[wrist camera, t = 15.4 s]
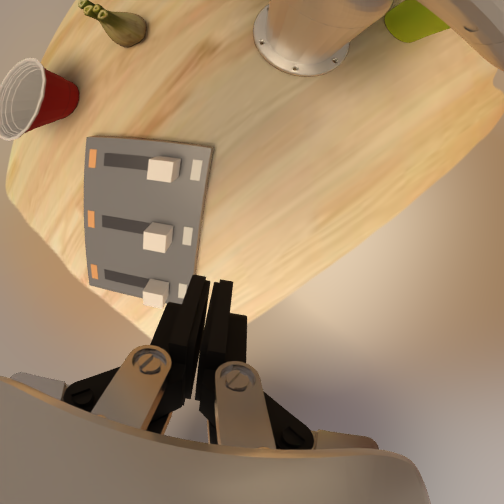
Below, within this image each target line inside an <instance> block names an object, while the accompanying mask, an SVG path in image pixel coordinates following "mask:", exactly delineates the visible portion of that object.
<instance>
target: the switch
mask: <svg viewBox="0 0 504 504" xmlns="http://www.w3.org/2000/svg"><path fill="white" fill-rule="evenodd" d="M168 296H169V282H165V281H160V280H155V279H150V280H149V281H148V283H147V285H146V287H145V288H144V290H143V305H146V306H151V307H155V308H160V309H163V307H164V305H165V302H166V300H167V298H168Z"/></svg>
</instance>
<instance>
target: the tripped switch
mask: <svg viewBox="0 0 504 504" xmlns="http://www.w3.org/2000/svg"><path fill="white" fill-rule="evenodd" d="M172 237H173V226H172V225H166V224H161V223H155V222H152V223H151V224H150V225H149V226H148V228H147V229H146V230H145V231H144V235H143V249H146V250H151V251H156V252H161V253H165V252H166V251H167V249H168V248H169V246H170V244H171V243H172Z"/></svg>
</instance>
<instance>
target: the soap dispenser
mask: <svg viewBox="0 0 504 504" xmlns="http://www.w3.org/2000/svg"><path fill="white" fill-rule="evenodd" d="M385 24H386V27H387V29H388V30H389V32H390V33H391V34H392V35H393V36H394V37H395V38H397V39H398V40H400V41H403V42H407V43H410V42H414V41H416V40H419V39H421V38H424V37H426V36H429V35H432V34H435V33H437V32H440V31H443V30H446V29H449V28H451V27H450V26H448V25H447V24H446V23H445V22H444V21H443V20H441V19H440V18H439V17H438V16H436V15H435V14H434V13H433V12H431V11H430V10H429V9H427V8H426V7H425V6H423V5H422V4H421V3H419V2H418V1H416V0H405V1H403V2H402V3H400V4H399V5H397V6H396V7H395V8H393V9H392V10H390V11H389V12H387V13H386V15H385Z"/></svg>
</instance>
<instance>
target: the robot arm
mask: <svg viewBox="0 0 504 504" xmlns="http://www.w3.org/2000/svg"><path fill="white" fill-rule="evenodd" d="M393 1H394V0H270V3H269V4H268V5H267V6H266V7H265V8H263V9H262V10H261V11H260V13H259V14H258V16H257V17H256V20H255V22H254V28H253V37H254V41H255V45H256V47H257V49H258V51H259V52H260V54H261V55H262V56H263V58H264V59H265V60H267V61H268V62H269V63H270V64H271V65H273V66H274V67H276V68H277V69H279V70H281V71H283V72H286V73H289V74H292V75H296V76H304V77H309V76H318V75H323V74H325V73H328V72H330V71H332V70H333V69H335V68H336V67H337V66H339V65H340V64H341V63H342V62H343V60H344V59H345V58H346V55H347V53H348V50H349V45H350V42H349V41H351V40H352V39H353V38H355V37H356V36H357V35H358V34H360V33H361V32H362V31H364V30H365V29H366V28H368V27H369V26H371V25H372V24H373V23H374V22H376V21H377V20H378V19H380V18H381V17H382V16H384V15H385V14H386V13H387V11H388V10H389V9H390V7H391V5H392V3H393ZM416 1H418V2H419V3H421V4H422V5H423V6H425V7H426V8H427V9H429V10H430V11H431V12H433V13H434V14H435V15H436V16H438V17H439V18H440V19H441V20H443V21H444V22H445V23H446V24H447V25H448V26H450V27H451V28H452V29H453V30H454V31H455V32H456V33H457V34H459V35H460V36H461V37H462V38H463V39H464V40H465V41H466V42H467V43H468V44H469V45H470V46H471V47H472V48H473V49H475V50H476V51H477V52H478V53H479V54H480V55H481V56H482V57H483V58H484V59H486V60H487V61H488V62H489V63H491V64H492V65H494V66H495V67H497V68H498V69H500V70H502V71H504V0H416ZM260 43H264V44H263V45H260ZM332 60H333V61H335V63H333V62H332ZM293 68H296V71H294V70H293ZM209 288H210V281H206V277H204V276H199V275H192V277H191V280H190V283H189V286H188V288H187V291H186V294H185V297H184V299H183V302H182V304H178V303H173V302H168V303H167V305H166V308H165V310H164V312H163V315H162V317H161V320H160V322H159V324H158V327H157V329H156V332H155V334H154V337H153V339H152V342H151V344H150V345H143V346H139V347H137V348H135V349H134V350H132V352H130V354H129V355H128V356H127V358H126V359H125V361H124V363H123V364H122V365H121V366H120V367H118V368H115V369H113V370H110V371H107V372H104V373H101V374H98V375H95V376H93V377H89V378H86V379H83V380H80V381H77V382H75V383H73V384H71V385H67V384H66V383H65V381H59V380H54V379H49V378H45V377H40V376H36V375H32V374H27V373H21V372H20V373H16V374H14V375H13V376H12V377H10V378H7V377H4V376H0V504H431V503H430V499H429V496H428V492H427V489H426V487H425V484H424V481H423V479H422V477H421V474H420V472H419V470H418V469H417V467H416V466H415V464H414V463H413V462H412V461H411V460H410V459H408V458H407V457H405V456H403V455H400V454H397V453H394V452H390V451H385V450H379V447H378V445H377V443H376V442H375V441H374V440H373V439H371V438H369V437H366V436H359V435H351V434H343V433H337V432H330V431H325V430H318V431H317V432H316V431H311V430H310V429H309V428H308V427H307V426H306V425H304V424H303V423H302V422H301V421H299V420H298V419H297V418H295V417H294V416H293V415H292V414H290V413H289V412H288V411H287V410H285V409H284V408H283V407H282V406H280V405H279V404H278V403H277V402H276V401H274V400H273V399H272V398H271V397H270V396H268V395H267V394H266V393H265V392H264V391H263V388H262V384H261V379H260V377H259V374H258V372H257V371H256V370H255V369H254V368H253V367H252V366H250V365H249V364H246V343H247V342H246V341H247V316H245V315H239V314H233V313H230V306H231V297H232V288H233V282H232V281H226V280H221V279H220V283H218V282H214V286H213V290H212V295H211V299H210V304H209V309H208V313H207V318H206V323H205V317H206V310H207V302H208V295H209ZM204 325H205V328H204ZM199 353H200V355H199ZM198 358H199V365H198V374H197V384H196V394H195V400H198V401H200V407H199V411H200V412H201V413H202V414H203V415H204V416H205V417H206V418H207V431H208V443H202V442H196V441H190V440H185V439H180V438H175V437H170V436H166V435H164V433H165V431H166V429H167V426H168V424H169V421H170V419H171V417H172V413H173V411H175V410H177V409H178V408H180V407H182V405H184V402H185V398H187V399H191V394H192V389H193V383H194V378H195V373H196V368H197V362H198Z"/></svg>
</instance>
